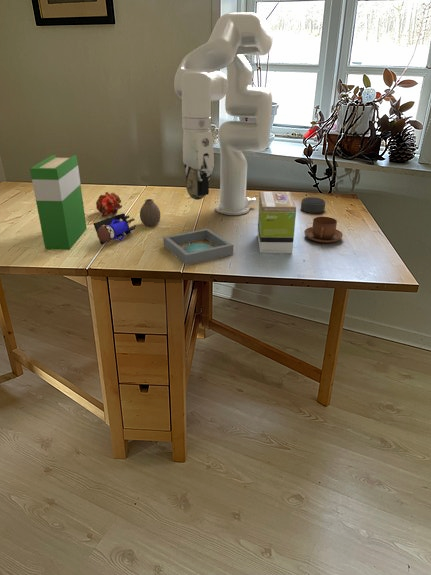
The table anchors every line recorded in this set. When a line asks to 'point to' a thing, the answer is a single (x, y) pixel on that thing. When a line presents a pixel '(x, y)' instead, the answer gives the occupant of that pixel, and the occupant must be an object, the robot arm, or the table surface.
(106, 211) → the dragon fruit
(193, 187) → the decorative egg
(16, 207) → the table surface
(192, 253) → the walled pen
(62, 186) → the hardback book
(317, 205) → the smart speaker
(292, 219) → the tea box
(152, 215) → the vase
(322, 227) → the cup and saucer
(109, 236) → the character figurine
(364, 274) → the table surface
